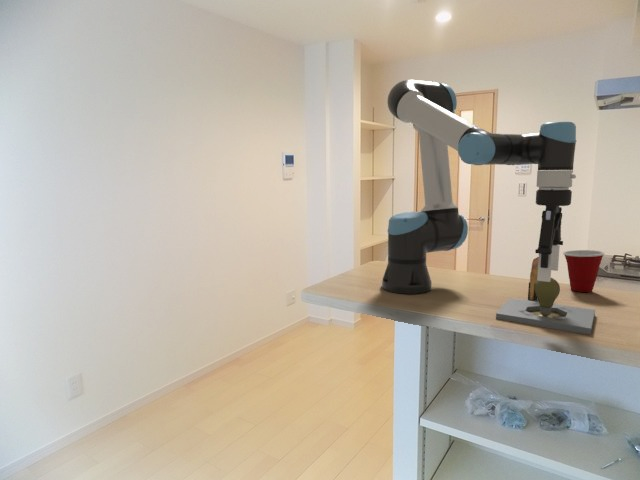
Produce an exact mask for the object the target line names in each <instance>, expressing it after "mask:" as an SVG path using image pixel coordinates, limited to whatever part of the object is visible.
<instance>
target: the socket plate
mask: <svg viewBox="0 0 640 480" xmlns="http://www.w3.org/2000/svg"><path fill="white" fill-rule="evenodd" d="M595 317H596V309H592V308H586V307H578V306H572V305H571V306H570V305H564V304H555V303H553V306H552V307H551V314H550V315H549V316H547V317H544V316H543V315H542V314H541V313H540V304H539V301H537V300H536V301H531V300H528V299H521V298H513V297H510V298H508V300H507V301H506V302H505V303H504V304H503V305H502V306H501V308H499V310H498V311H497V312H496V313H495V319H498V320H503V321H508V322H515V323H519V324H526V325H530V326H536V327H541V328H548V329H553V330H559V331H565V332H571V333H577V334H583V335H589V336H591V334H592V330H593V329H592V328H593V325H594V320H595Z"/></svg>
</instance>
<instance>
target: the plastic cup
mask: <svg viewBox="0 0 640 480" xmlns="http://www.w3.org/2000/svg"><path fill="white" fill-rule="evenodd" d="M562 254H563V255H564V257H565V260H566V266H567V271H568V272H567V273H568V279H569V286H570V290H572V291H575V292H579V293H580V292H581V293H591V292H593V290H594V287H595V283H596V281H597V278H598V277H597V276H598V273H599V269H600V266H601V262H602V260H603V257H604V255H605V252H604V251H599V250H590V249H589V250H588V249H585V250H581V249H580V250H567V251H563V252H562Z"/></svg>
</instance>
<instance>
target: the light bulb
mask: <svg viewBox="0 0 640 480" xmlns="http://www.w3.org/2000/svg"><path fill="white" fill-rule="evenodd" d="M560 291H561V286H560V283H559V282H558V281H557V280H556V279H555V278H553V277H551V280H550V282H545V281H537V282H536V284H535V293H536V295H537V297H538V299H537V300H538V302H539V304H540V313H541V314H542V315H543V316H544V317H547V316H549V315H550V314H551V307H552V306H553V304H555V301H556V299H557V298H558V296H559V295H560V293H561V292H560Z"/></svg>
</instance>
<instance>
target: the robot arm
mask: <svg viewBox="0 0 640 480" xmlns="http://www.w3.org/2000/svg"><path fill="white" fill-rule="evenodd" d="M456 96H457V95H456V93H455V91H454V90H453V88H452V87H451V86H449V85H448V84H445V83H441V82H439V81H433V82H432V81H425V80H415V79H405V80H401V81H399V82H397V83H396V84H395V85H394V86H393V87H392V88H391V89H390V91H389V93H388V95H387V101H386V102H387V107H388V110H389V112H390V113H391V115H392V116H393V117H395V118H396V119H397V120H399V121H400V122H403V123H405V124H406V123H411V124H412V126H413V129H414V130H415V131H417V133H418V139H419V150H420V151H419V152H420V162H421V172H422V184H423V185H422V186H423V195H424V206H423V208H422V209H421V210H420V211H410V212H409V211H408V212H401V213H397V214H394V215H392V216H391V217H390V218H389V220H388V225H387V227H388V228H387V237H388V238H387V264H386V268H385V270H384V273H383V274H384V275H383V276H382V282H381V284H382V285H381V287H382V289H383V290H385V291H387V292H390V293H394V294H395V293H396V294H403V295H405V294H406V295H410V294H411V295H412V294H424V293H427V292H429V291H431V290H432V279H431V275H430V273H429V270H428V266H427V254H428V253H434V252H442V251H443V252H446V251H447V252H448V251H451V250H455V249H458V248H459V247H461V246H462V245H463V243H464V242H465V241H466V239H467V236H468V232H469V227H468V221H467V219H465V217H464V216H463V215H462V214H460V212H459V206H458V205H456V204H455V203H454V202H453V191H452V181H451V169H450V160H449V159H450V157H449V149H448V148H449V147H451V149H454V150H455V151H457V153H458V156H459V157H460V161H462V162H463V163H465V164H466V165H473V166H483V165H489V166H490V165H499V166H500V165H506V166H517V165H520V166H521V165H537V172H536V185H535V187H537V188H538V189H537V190H536V191H535V192H536V193H535V204H536V205H537V206H545V209H544V210H542V213H541V225H540V231H539V232H540V233H539V238H538V247H537V248H535V254H538V257H539V259H538V274H537V281H545V282H550V280H551V278H552V276H551V275H552V271H553V272H555V271H556V272H558V271H559V260H560V259H559V258H560V247H561V246H563V245H564V241H563V240H562V236H561V235H562V230H561V229H562V219H563V213H562V210H563V209H562V207H568V206H570V205H571V203H572V193H573V191H572V190H571V189H570V188H571V187H573V179H576V178H577V176H576V174H573V173H574V161H575V160H574V159H575V151H576V145H577V144H576V143H577V126H576V124H575V123H574V122H572V121H551V122H550V121H549V122H544V123H542V124H541V125H540V129H539V132H537V133H535V132H534V133H526V134H525V133H524V134H523V133H522V134H519V133H518V134H515V133H495V132H494V133H492V132H490V131H487V130H485V129H484V128H481V127H479V126H478V125H476V124H474V123H473V122H470V121H468V120H466V119H464V118H463V117H460V116H459V115H457V114H456V113H455V110H456V109H457V103H458V101H457V97H456Z"/></svg>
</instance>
